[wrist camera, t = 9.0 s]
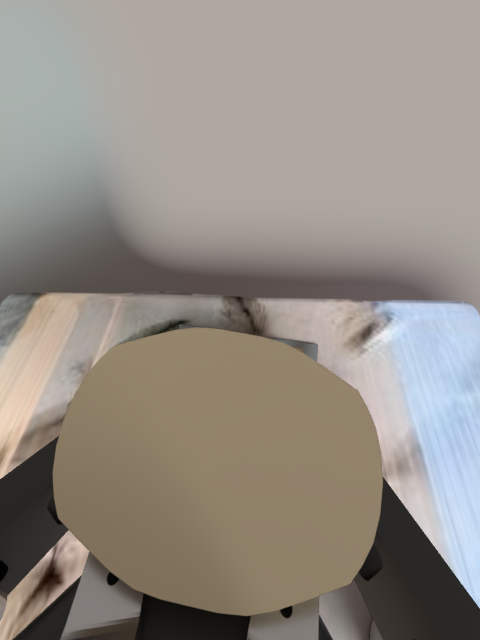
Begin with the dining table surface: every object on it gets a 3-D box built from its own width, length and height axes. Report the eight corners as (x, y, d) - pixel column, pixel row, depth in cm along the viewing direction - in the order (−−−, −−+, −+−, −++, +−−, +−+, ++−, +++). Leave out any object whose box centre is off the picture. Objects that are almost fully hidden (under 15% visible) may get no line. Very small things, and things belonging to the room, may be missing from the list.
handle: (202, 365, 20) (104, 308, 5) (277, 379, 20) (384, 358, 5) (188, 426, 19) (12, 563, 4) (269, 442, 18) (380, 652, 4)
